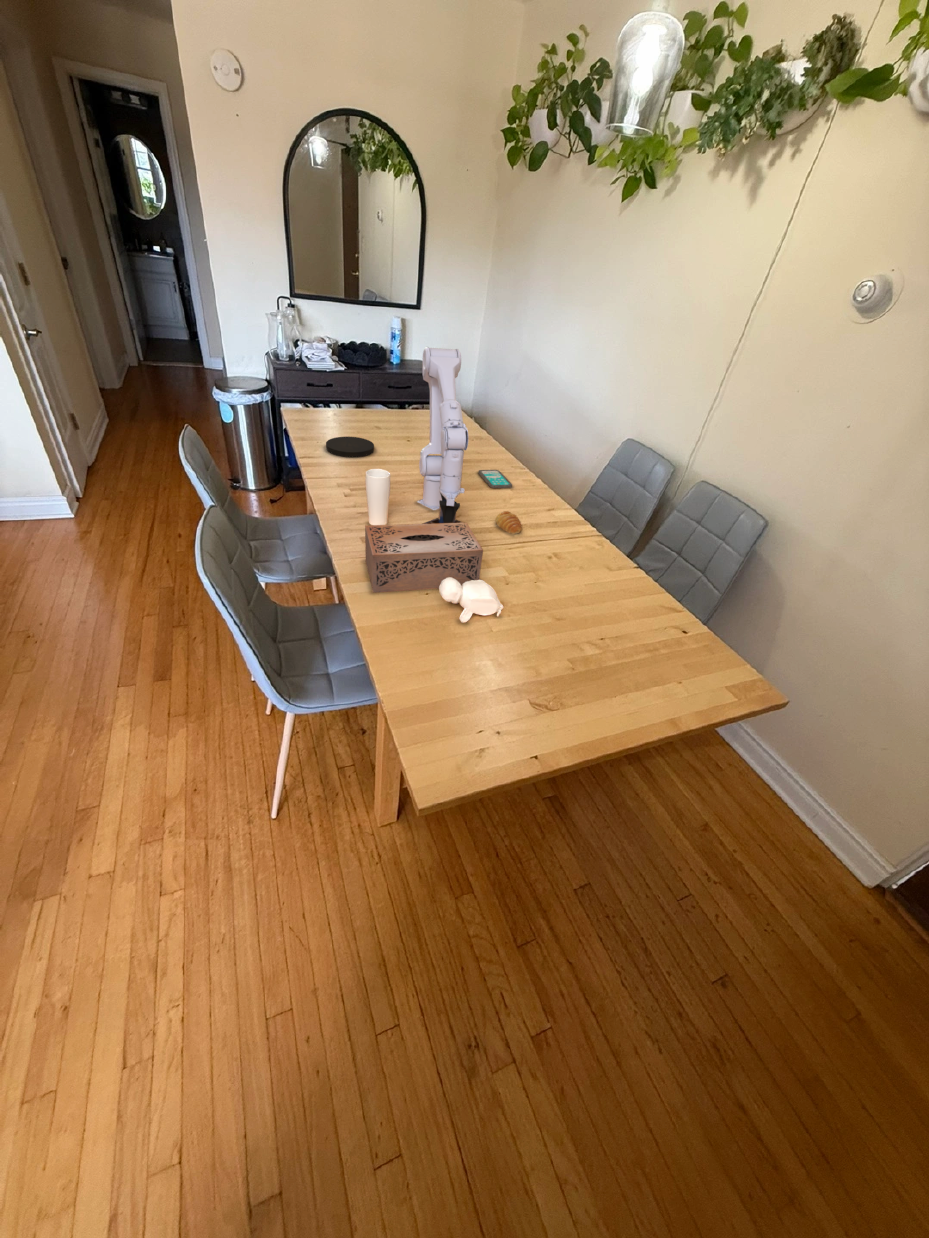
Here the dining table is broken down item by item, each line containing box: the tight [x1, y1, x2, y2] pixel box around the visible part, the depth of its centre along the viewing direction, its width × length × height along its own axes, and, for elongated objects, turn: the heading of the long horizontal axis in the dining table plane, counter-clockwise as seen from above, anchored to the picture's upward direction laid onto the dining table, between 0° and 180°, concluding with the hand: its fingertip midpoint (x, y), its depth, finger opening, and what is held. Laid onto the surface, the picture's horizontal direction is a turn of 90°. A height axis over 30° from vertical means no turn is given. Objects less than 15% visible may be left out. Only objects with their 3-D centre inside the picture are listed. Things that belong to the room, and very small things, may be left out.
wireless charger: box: [325, 436, 375, 459], centre depth 193 cm, size 18×18×2 cm
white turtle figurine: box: [438, 577, 504, 624], centre depth 114 cm, size 9×8×15 cm
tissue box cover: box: [364, 522, 484, 594], centre depth 124 cm, size 26×14×10 cm, turn 105°
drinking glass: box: [364, 468, 391, 525], centre depth 142 cm, size 7×7×15 cm
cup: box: [438, 500, 458, 523], centre depth 145 cm, size 5×5×8 cm
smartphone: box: [478, 469, 513, 489], centre depth 183 cm, size 9×1×15 cm
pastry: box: [495, 510, 523, 535], centre depth 152 cm, size 9×7×4 cm
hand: (447, 519), depth 145 cm, fingers open, 7 cm apart
